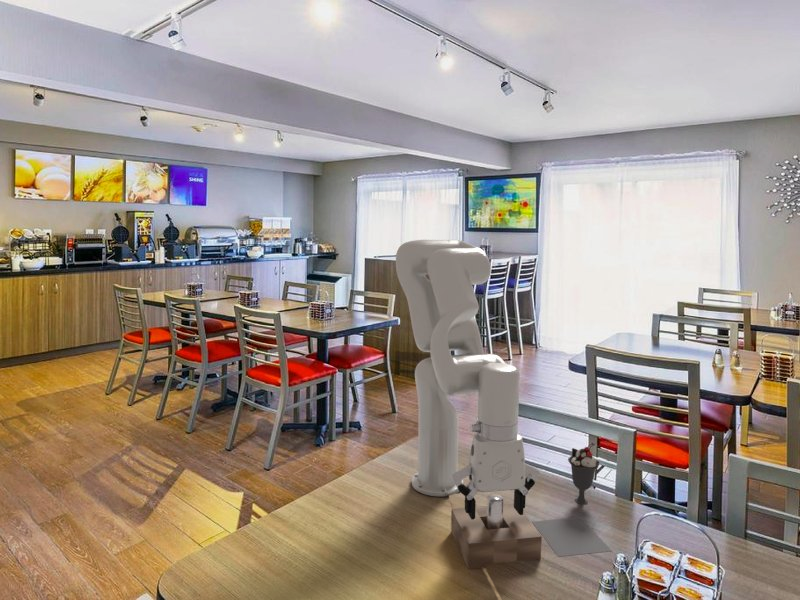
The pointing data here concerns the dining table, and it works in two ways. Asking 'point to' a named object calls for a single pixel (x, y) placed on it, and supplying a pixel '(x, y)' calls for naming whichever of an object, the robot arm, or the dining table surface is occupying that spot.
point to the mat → (570, 536)
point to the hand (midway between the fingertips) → (494, 513)
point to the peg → (494, 512)
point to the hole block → (494, 537)
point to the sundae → (582, 471)
